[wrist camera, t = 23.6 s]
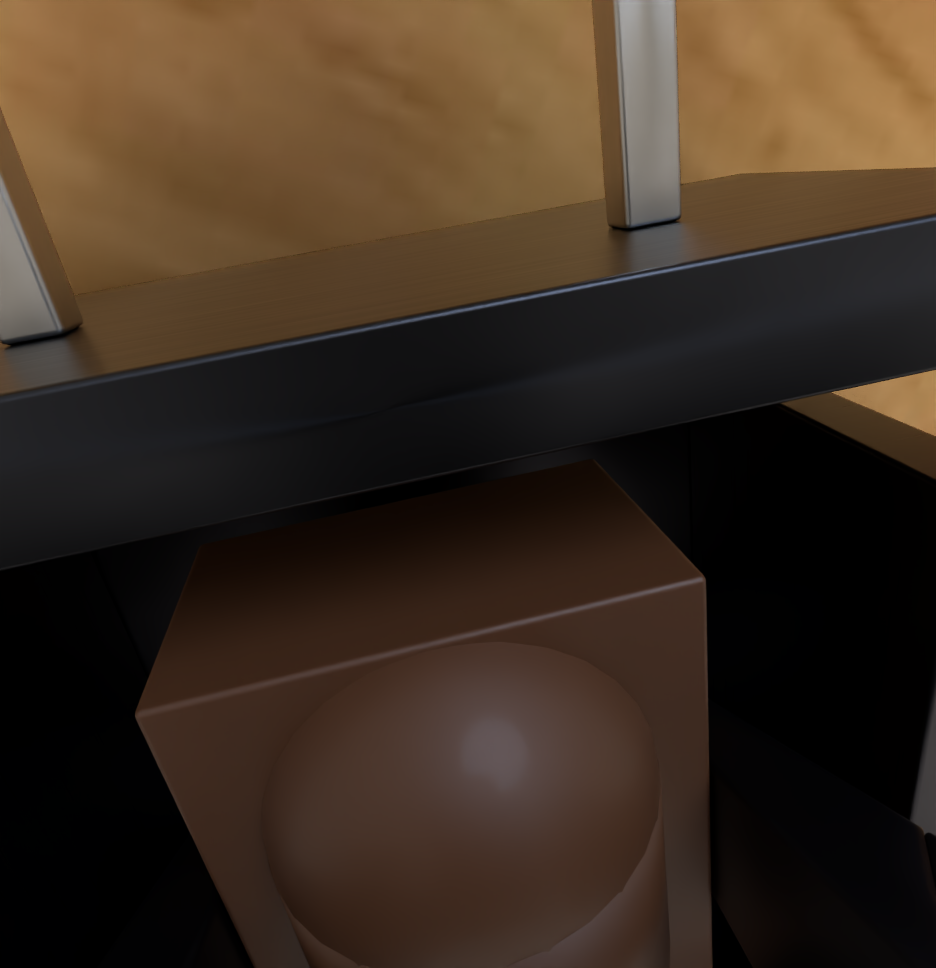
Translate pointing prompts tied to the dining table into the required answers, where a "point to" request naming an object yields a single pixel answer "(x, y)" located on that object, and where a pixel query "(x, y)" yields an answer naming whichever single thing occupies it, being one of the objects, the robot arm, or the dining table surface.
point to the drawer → (472, 457)
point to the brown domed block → (448, 732)
